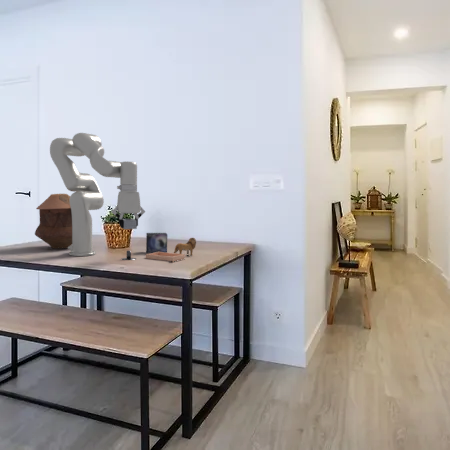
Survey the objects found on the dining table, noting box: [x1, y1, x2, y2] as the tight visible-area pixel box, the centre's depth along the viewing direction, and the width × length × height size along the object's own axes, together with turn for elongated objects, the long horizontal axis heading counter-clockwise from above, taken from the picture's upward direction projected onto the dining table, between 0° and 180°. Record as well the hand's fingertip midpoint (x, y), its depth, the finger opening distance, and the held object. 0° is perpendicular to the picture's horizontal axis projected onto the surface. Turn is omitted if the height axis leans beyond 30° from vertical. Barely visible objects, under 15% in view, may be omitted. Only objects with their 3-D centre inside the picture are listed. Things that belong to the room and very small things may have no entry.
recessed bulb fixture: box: [122, 218, 138, 230], centre depth 189 cm, size 6×9×4 cm, turn 23°
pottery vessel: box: [34, 193, 72, 249], centre depth 224 cm, size 26×26×30 cm
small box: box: [145, 232, 168, 254], centre depth 213 cm, size 11×6×10 cm, turn 105°
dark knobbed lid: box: [121, 250, 137, 261], centre depth 190 cm, size 7×7×4 cm
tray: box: [145, 251, 186, 263], centre depth 194 cm, size 15×10×2 cm
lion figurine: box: [173, 237, 197, 256], centre depth 205 cm, size 15×5×9 cm, turn 138°
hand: (128, 227), depth 189 cm, fingers closed on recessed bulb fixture, 5 cm apart
